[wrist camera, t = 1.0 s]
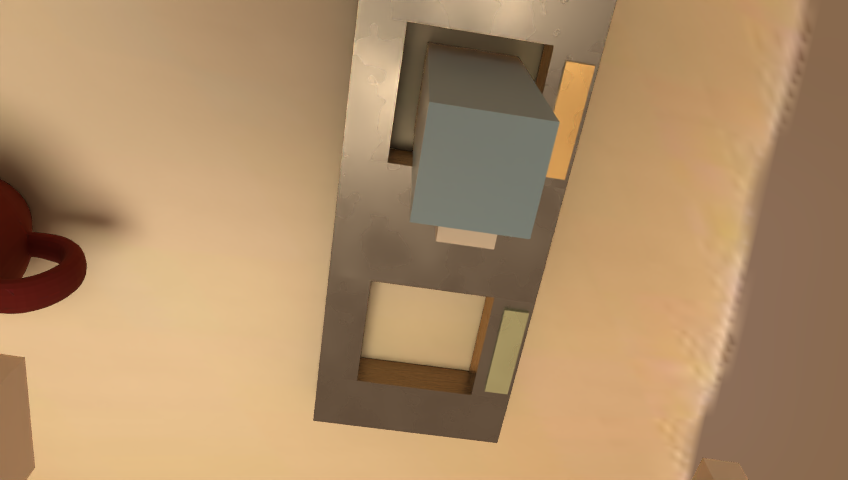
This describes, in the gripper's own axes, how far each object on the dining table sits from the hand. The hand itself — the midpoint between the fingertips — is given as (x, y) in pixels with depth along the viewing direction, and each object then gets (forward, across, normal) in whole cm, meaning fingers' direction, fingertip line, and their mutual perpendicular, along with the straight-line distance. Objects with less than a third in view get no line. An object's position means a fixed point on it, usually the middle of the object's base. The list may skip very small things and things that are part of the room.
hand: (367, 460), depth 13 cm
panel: (+20, +3, -3) cm, 20 cm away
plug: (+20, +2, +3) cm, 20 cm away
